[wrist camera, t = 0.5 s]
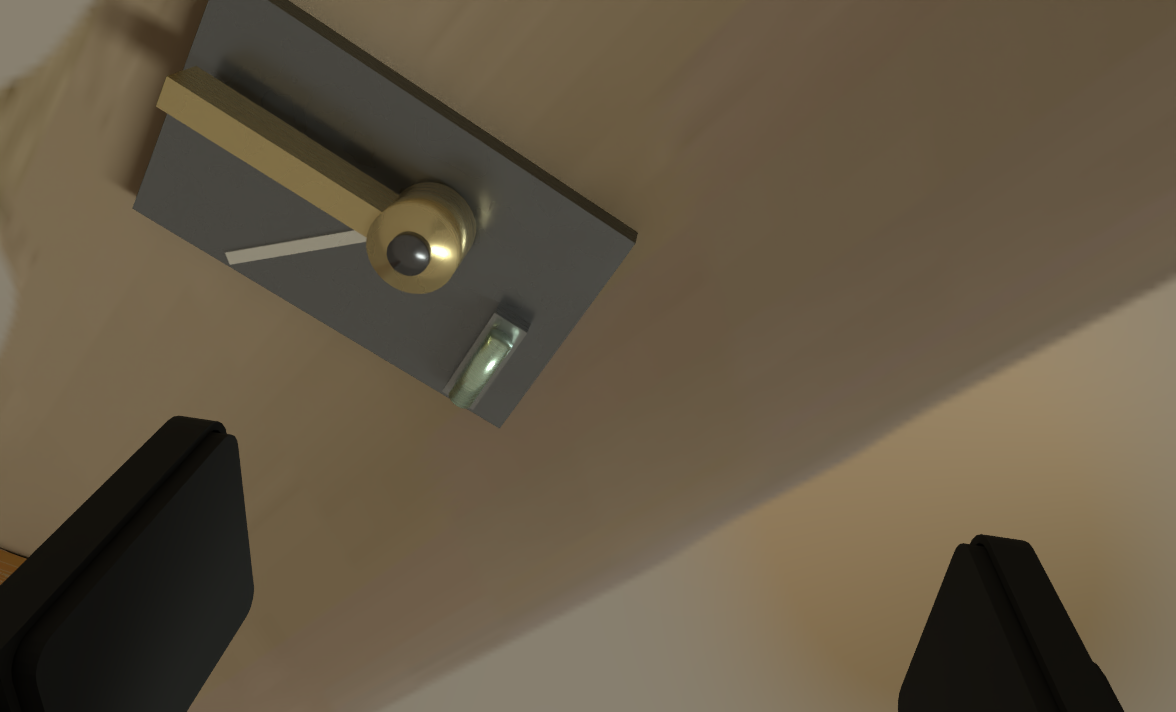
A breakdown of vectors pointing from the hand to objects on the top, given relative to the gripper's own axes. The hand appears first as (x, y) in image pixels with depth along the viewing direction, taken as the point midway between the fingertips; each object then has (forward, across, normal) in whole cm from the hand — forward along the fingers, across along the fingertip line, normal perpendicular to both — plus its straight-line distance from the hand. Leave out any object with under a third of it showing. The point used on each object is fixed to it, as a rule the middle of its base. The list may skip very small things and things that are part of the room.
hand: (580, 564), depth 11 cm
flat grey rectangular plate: (+34, +14, +8) cm, 38 cm away
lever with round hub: (+32, +15, +5) cm, 36 cm away
